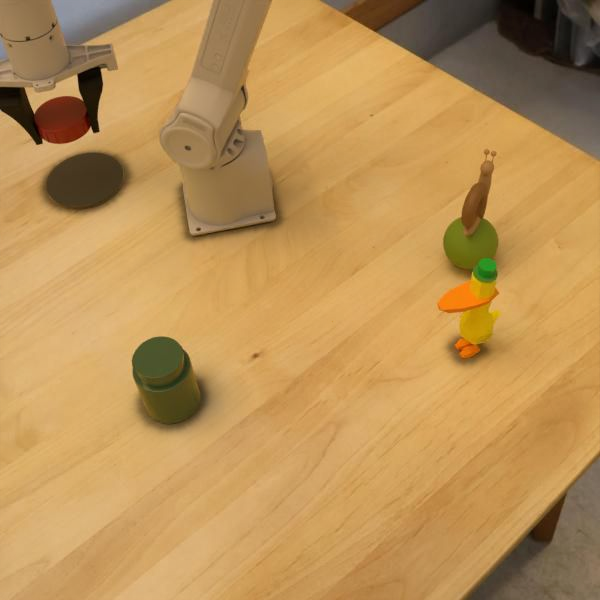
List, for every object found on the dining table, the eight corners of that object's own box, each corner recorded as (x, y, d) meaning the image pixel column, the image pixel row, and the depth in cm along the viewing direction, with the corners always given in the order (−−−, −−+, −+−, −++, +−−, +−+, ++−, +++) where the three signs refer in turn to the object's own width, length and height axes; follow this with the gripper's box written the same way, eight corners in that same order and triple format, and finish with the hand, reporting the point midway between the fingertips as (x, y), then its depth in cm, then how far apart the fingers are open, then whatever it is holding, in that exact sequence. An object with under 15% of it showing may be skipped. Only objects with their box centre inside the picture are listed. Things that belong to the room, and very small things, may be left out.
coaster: (121, 149, 102) (120, 146, 102) (126, 201, 97) (125, 198, 96) (46, 163, 102) (45, 159, 101) (47, 216, 96) (45, 212, 96)
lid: (53, 106, 95) (48, 92, 93) (100, 113, 94) (96, 99, 92) (29, 140, 92) (23, 126, 90) (77, 147, 90) (72, 134, 89)
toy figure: (442, 375, 79) (451, 295, 70) (425, 347, 81) (431, 265, 72) (506, 351, 81) (524, 268, 71) (487, 323, 83) (502, 240, 73)
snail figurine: (504, 242, 89) (519, 155, 80) (486, 286, 85) (499, 201, 76) (454, 228, 91) (463, 142, 81) (434, 271, 87) (441, 186, 78)
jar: (196, 371, 82) (183, 326, 76) (204, 416, 78) (191, 374, 73) (142, 383, 81) (125, 339, 76) (148, 429, 78) (131, 387, 72)
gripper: (-49, 63, 79) (1, 171, 90) (106, 33, 81) (137, 142, 91) (-48, 21, 84) (0, 128, 94) (99, -7, 85) (129, 102, 96)
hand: (67, 133), depth 93 cm, fingers closed on lid, 5 cm apart
